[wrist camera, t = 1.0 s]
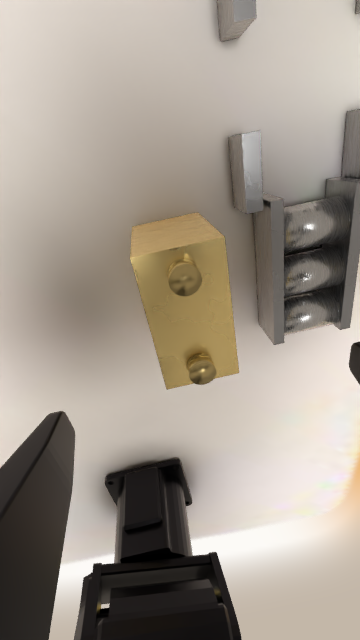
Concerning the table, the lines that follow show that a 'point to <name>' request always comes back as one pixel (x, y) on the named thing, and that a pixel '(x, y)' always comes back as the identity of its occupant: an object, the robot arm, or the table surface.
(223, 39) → the chain end
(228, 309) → the link
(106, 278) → the table surface
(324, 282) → the chain end
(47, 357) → the table surface
